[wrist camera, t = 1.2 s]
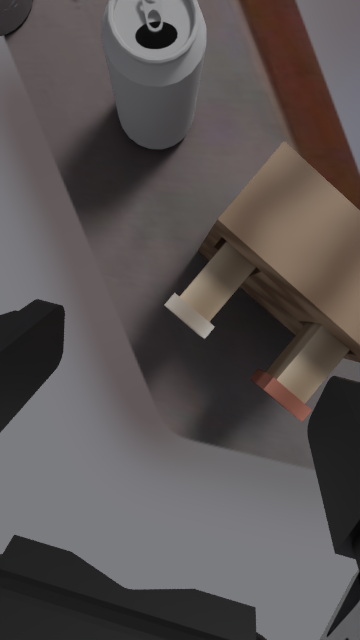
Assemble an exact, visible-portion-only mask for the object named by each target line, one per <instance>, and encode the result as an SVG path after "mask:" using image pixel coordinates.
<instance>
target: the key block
mask: <svg viewBox="0 0 360 640" xmlns="http://www.w3.org/2000/svg"><path fill="white" fill-rule="evenodd" d="M226 241H227V242H228V243H229V244H231V245H232V246H233V247H234V248H235V249H236V250H237V251H239V252H240V253H241V254H242V255H243V256H244V257H245V258H246V259H248V260H249V261H250V262H251V263H252V264H253V265H254V266H256V268H255V269H254V270H253V271H252V272H251V273H250V275H249V276H248V277H247V278H246V279H245V281H244V282H243V283H242V284H241V285H240V286H239V287H241V288H242V289H243V290H244V291H245V292H246V293H247V294H249V295H250V296H251V297H252V298H253V299H254V300H255V301H257V302H258V303H259V304H260V305H261V306H262V307H264V308H265V309H266V310H267V311H268V312H269V313H270V314H272V315H273V316H274V317H275V318H276V319H277V320H278V321H280V322H281V323H282V324H283V325H284V326H285V327H286V328H288V329H289V330H290V331H291V332H292V333H293V334H294V335H297V334H298V332H299V331H300V330H301V329H302V328H303V327H304V325H305V324H306V323H307V322H316V323H320V324H321V325H323V326H324V327H325V328H326V329H327V330H328V331H329V332H331V333H332V334H333V335H334V336H335V337H336V338H337V339H338V340H340V341H341V342H342V343H343V344H344V345H345V346H346V347H348V348H349V349H350V350H349V352H348V353H347V354H346V355H345V356H344V357H343V358H345V359H349V360H353V361H357V362H360V210H358V209H357V208H356V207H355V206H354V205H353V204H352V203H351V202H350V201H349V200H348V199H347V198H345V197H344V196H343V195H342V194H341V193H340V192H339V191H338V190H337V189H336V188H335V187H333V186H332V185H331V184H330V183H329V182H328V181H327V180H326V179H325V178H324V177H323V176H321V175H320V174H319V173H318V172H317V171H316V170H315V169H314V168H313V167H312V166H311V165H310V164H308V163H307V162H306V161H305V160H304V159H303V158H302V157H301V156H300V155H299V154H298V153H296V152H295V151H294V150H293V149H292V148H291V147H290V146H289V145H288V144H287V143H286V142H283V143H282V144H281V145H280V147H279V148H278V149H277V150H276V151H275V152H274V154H273V155H272V156H271V157H270V158H269V160H268V161H267V162H266V163H265V164H264V165H263V167H262V168H261V169H260V170H259V171H258V172H257V174H256V175H255V176H254V177H253V178H252V179H251V181H250V182H249V183H248V184H247V185H246V187H245V188H244V189H243V190H242V191H241V192H240V194H239V195H238V196H237V197H236V198H235V199H234V201H233V202H232V203H231V204H230V205H229V206H228V208H227V209H226V210H225V211H224V212H223V214H222V215H221V216H220V217H219V218H218V219H217V221H216V223H215V224H214V226H213V227H212V229H211V231H210V232H209V234H208V235H207V237H206V239H205V240H204V242H203V243H202V245H201V247H200V248H199V250H198V251H199V252H200V253H202V254H203V255H204V256H205V257H206V258H207V259H208V260H211V258H212V257H213V256H214V255H215V254H216V253H217V251H218V250H219V249H220V248H221V247H222V246H223V244H224V243H225V242H226Z"/></svg>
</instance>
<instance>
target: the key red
mask: <svg viewBox="0 0 360 640" xmlns="http://www.w3.org/2000/svg"><path fill="white" fill-rule="evenodd" d="M349 350H350V349H349V348H348V347H346V346H345V345H344V344H343V343H342V342H341V341H340V340H338V339H337V338H336V337H335V336H334V335H333V334H332V333H331V332H329V331H328V330H327V329H326V328H325V327H324V326H323V325H321V324H320V323H316V322H307V323H306V324H305V325H304V327H303V328H302V329H301V330H300V331H299V332H298V334H297V335H296V336H295V337H294V338H293V340H292V341H291V342H290V343H289V344H288V346H287V347H286V348H285V349H284V350H283V351H282V353H281V354H280V355H279V356H278V357H277V359H276V360H275V361H274V362H273V363H272V365H271V366H270V367H269V368H268V369H267V370H266V372H264V371H262V370H261V369H259V368H258V370H257V371H256V372H255V373H254V374H253V375H252V377H251V378H250V379H251V380H252V381H253V382H254V383H256V384H257V385H258V386H259V387H260V388H262V389H263V390H264V391H265V392H266V393H267V394H269V395H270V396H271V397H272V398H273V399H274V400H276V401H277V402H278V403H279V404H280V405H282V406H283V407H284V408H285V409H286V410H288V411H289V412H290V413H291V414H293V415H294V416H295V417H297V418H298V419H299V420H300V421H303V420H304V419H305V418H306V416H307V415H308V414H309V413H310V412H311V409H310V408H309V407H308V406H307V405H305V403H306V402H307V400H308V399H309V398H310V397H311V396H312V394H313V393H314V392H315V391H316V390H317V388H318V387H319V386H320V385H321V384H322V383H323V381H324V380H325V379H326V378H327V377H328V375H329V374H330V373H331V372H332V371H333V369H334V368H335V367H336V366H337V365H338V363H339V362H340V361H341V360H342V359H343V357H344V356H345V355H346V354H347V353H348V352H349Z"/></svg>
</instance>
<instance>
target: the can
mask: <svg viewBox="0 0 360 640" xmlns="http://www.w3.org/2000/svg"><path fill="white" fill-rule="evenodd" d="M101 23H102V43H103V48H104V52H105V57H106V61H107V66H108V71H109V75H110V80H111V84H112V89H113V93H114V98H115V103H116V107H117V112H118V116H119V119H120V122H121V125H122V128H123V129H124V131H125V132H126V134H127V135H128V136H129V138H130V139H132V140H133V141H134V142H136V143H137V144H138V145H140V146H143V147H146V148H149V149H165V148H168V147H172V146H174V145H175V144H177V143H178V142H180V141H181V140H182V139H183V138H184V137H185V136H186V134H187V133H188V132H189V130H190V128H191V125H192V121H193V118H194V112H195V107H196V101H197V95H198V89H199V83H200V77H201V71H202V66H203V60H204V54H205V48H206V25H205V21H204V18H203V15H202V12H201V10H200V8H199V5H198V2H197V0H109V1H108V5H107V6H106V10H105V13H104V16H103V19H102V22H101Z"/></svg>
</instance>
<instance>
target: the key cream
mask: <svg viewBox="0 0 360 640" xmlns="http://www.w3.org/2000/svg"><path fill="white" fill-rule="evenodd" d="M255 268H256V266H254V265H253V264H252V263H251V262H250V261H249V260H248V259H246V258H245V257H244V256H243V255H242V254H241V253H240V252H239V251H237V250H236V249H235V248H234V247H233V246H232V245H231V244H229V243H228V242H227V241H226V242H225V243H224V244H223V246H222V247H221V248H220V249H219V250H218V251H217V253H216V254H215V255H214V256H213V257H212V258H211V260H210V261H209V262H208V263H207V264H206V266H205V267H204V268H203V269H202V270H201V271H200V273H199V274H198V275H197V276H196V277H195V278H194V280H193V281H192V282H191V283H190V284H189V286H188V287H187V288H186V289H185V290H184V291H183V293H182V294H181V295H180V296H178V295H177V294H176V293H174V294H173V295H172V296H171V298H170V299H169V300H168V301H167V302H166V303H165V305H164V306H165V307H166V308H168V309H169V310H170V311H171V312H172V313H173V314H175V315H176V316H177V317H178V318H179V319H180V320H182V321H183V322H184V323H185V324H186V325H188V326H189V327H190V328H191V329H192V330H193V331H195V332H196V333H197V334H198V335H199V336H201V337H202V338H204V339H205V338H206V337H207V336H208V335H209V333H210V332H211V331H212V330H213V329H214V326H213V325H212V324H211V323H210V321H211V319H212V318H213V317H214V316H215V315H216V314H217V312H218V311H219V310H220V309H221V308H222V306H223V305H224V304H225V303H226V302H227V301H228V299H229V298H230V297H231V296H232V295H233V294H234V292H235V291H236V290H237V289H238V288H239V286H240V285H241V284H242V283H243V282H244V281H245V279H246V278H247V277H248V276H249V275H250V273H251V272H252V271H253V270H254V269H255Z"/></svg>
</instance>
